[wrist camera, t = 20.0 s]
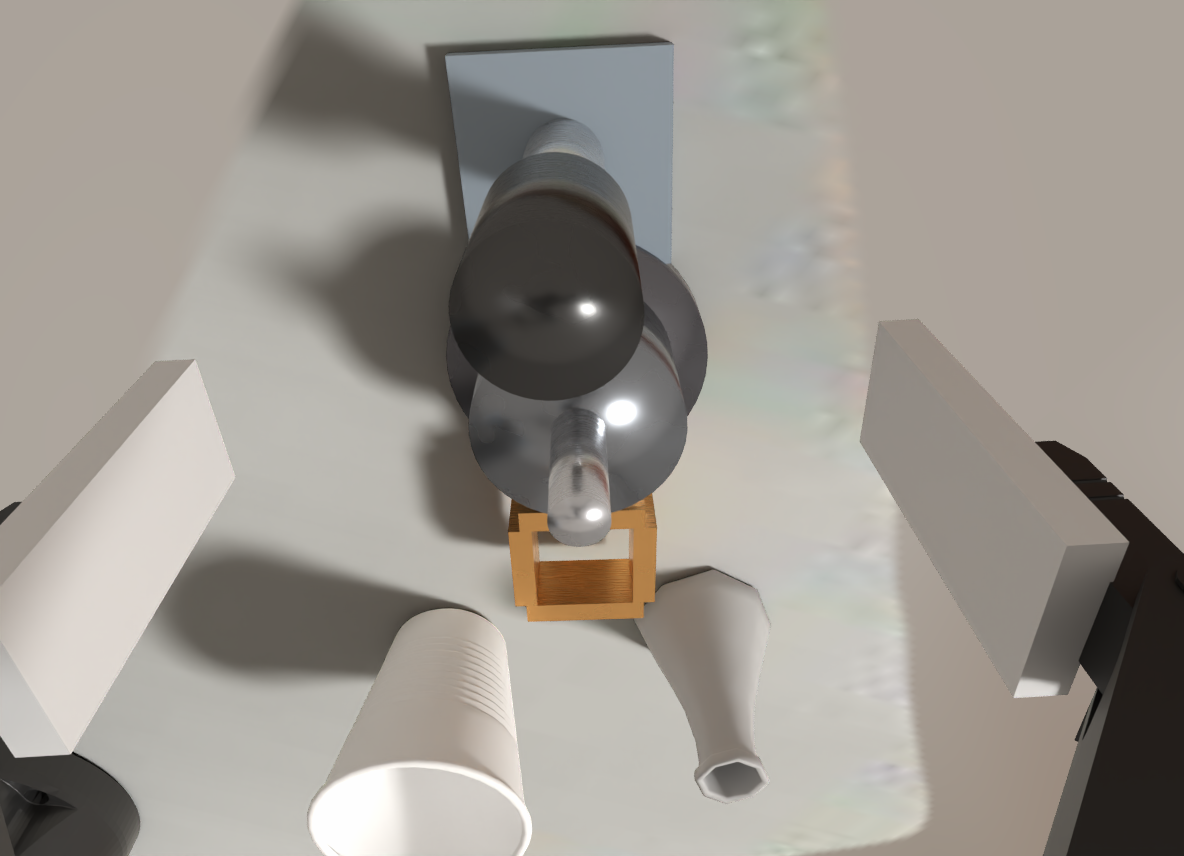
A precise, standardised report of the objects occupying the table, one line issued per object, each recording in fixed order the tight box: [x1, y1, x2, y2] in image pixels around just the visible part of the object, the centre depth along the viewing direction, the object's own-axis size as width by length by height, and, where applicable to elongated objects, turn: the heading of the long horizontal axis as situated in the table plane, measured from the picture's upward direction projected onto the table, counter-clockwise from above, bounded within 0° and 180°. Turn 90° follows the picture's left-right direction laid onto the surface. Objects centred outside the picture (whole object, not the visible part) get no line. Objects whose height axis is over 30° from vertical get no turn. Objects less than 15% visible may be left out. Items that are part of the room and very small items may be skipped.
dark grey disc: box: [446, 245, 708, 419], centre depth 34 cm, size 11×11×2 cm
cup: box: [307, 608, 532, 856], centre depth 40 cm, size 10×10×11 cm
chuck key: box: [449, 119, 644, 401], centre depth 24 cm, size 4×4×14 cm
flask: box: [633, 569, 771, 804], centre depth 40 cm, size 7×7×10 cm
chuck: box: [469, 302, 687, 622], centre depth 31 cm, size 16×8×10 cm, turn 1°
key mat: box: [445, 42, 674, 264], centre depth 30 cm, size 8×8×1 cm
